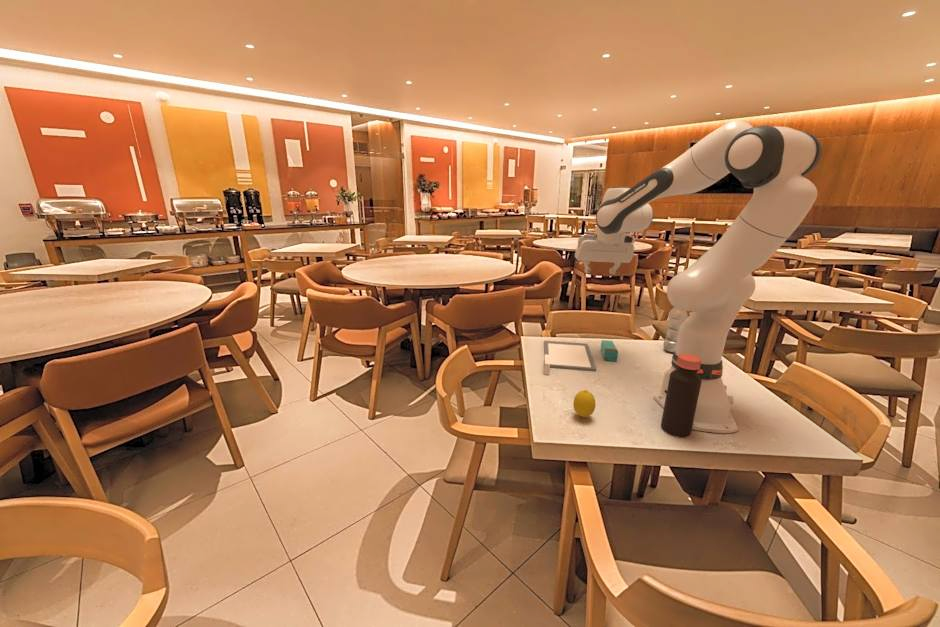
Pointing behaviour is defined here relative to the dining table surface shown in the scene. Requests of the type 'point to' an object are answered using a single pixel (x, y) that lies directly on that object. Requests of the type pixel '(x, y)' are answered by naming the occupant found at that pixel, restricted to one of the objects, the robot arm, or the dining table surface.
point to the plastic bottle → (674, 328)
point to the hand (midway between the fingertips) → (599, 273)
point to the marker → (609, 351)
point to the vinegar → (682, 396)
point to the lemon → (584, 403)
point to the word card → (546, 364)
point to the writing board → (569, 355)
